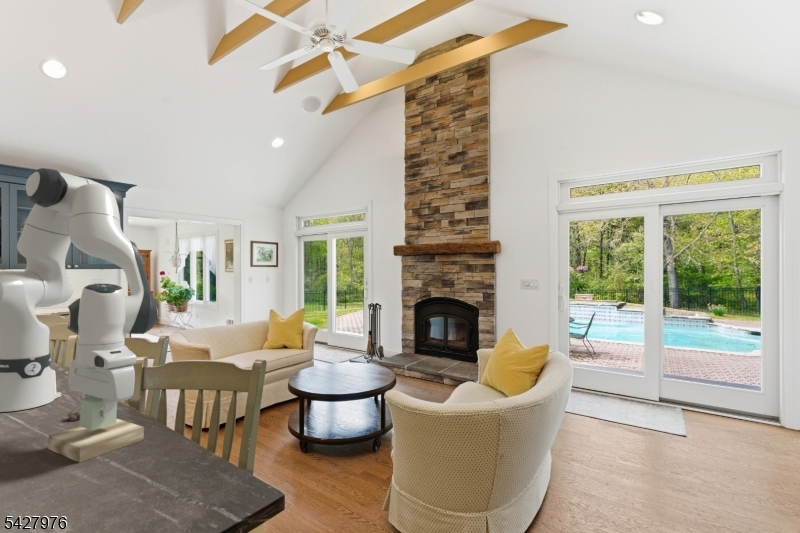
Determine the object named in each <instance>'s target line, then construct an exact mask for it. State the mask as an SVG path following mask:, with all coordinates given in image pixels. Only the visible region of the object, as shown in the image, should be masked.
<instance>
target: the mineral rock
mask: <svg viewBox="0 0 800 533" xmlns="http://www.w3.org/2000/svg"><path fill="white" fill-rule="evenodd" d="M117 408H118V405H117ZM67 416H68V419H67V420H68V421H71V422H80V409H79V410H77V411H74V410H73V411H70V412H69V414H68V415H67Z"/></svg>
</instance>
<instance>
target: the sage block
mask: <svg viewBox="0 0 800 533" xmlns="http://www.w3.org/2000/svg"><path fill="white" fill-rule="evenodd" d="M104 404H105V403H103V399H101V398H98V397H90V398H86V399H83V398H82V399H80V409H79V410H80V421H79V427H80V426H81V427H83V428H86V429H89V430H95V429H98V428H102V427H105V426H108V425H112V424H115V423H116V418H117V413H118V411H117V410H118V407H117V406H118V402H116V404H115V406H114V408H113V415H112V416H111V417H109V418H103V417H101V416H100V415H101V410H102V409H103V407H104Z"/></svg>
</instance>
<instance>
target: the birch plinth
mask: <svg viewBox="0 0 800 533" xmlns="http://www.w3.org/2000/svg"><path fill="white" fill-rule="evenodd" d="M144 440H145V426H142V425H139V424H135V423H133V422H129V421H127V420H124V419H123V420H122V419H119V418H117V417H116V423H115V424H112V425H108V426H105V427H102V428H98V429H95V430H89V429H86V428H83V427H81V426H80V425H79V426H76V427H74V428H70V429H67V430H64V431H59V432H55V433H53V434H48V443H47V444H48V445H47V447H48V448H47V449H48V450H49V451H52V452H54V453H57V454H59V455H62V456H63V457H66V458H68V459H70V460H73V461H75V462H78V463H82V462H85V461H88V460H91V459H93V458H96V457H99V456H102V455H104V454H108V453H110V452H113V451H116V450H119V449H121V448H125V447H128V446H131V445H132V444H133V445H134V444H135V443H138V442H141V441H144Z"/></svg>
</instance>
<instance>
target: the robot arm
mask: <svg viewBox="0 0 800 533" xmlns="http://www.w3.org/2000/svg"><path fill="white" fill-rule="evenodd" d="M25 195H26V198H27V199H28V201H30V203H32V204H34V205H33V206H32V208H31V210H30V211H29V214H28V216H27V218H26V221H25V223H24V226H23V229H22V231H21V234H20V236H19V238H18V240H17V244H16V249H17V251H18V253H19V254H20V255H21V256H23V258H25V260H26V265H25V269H24V270H23V271H20V270H19V271H17V270H15V271H14V270H10V271H9V270H7V271H6V270H5V271H4V270H3V271H0V413H6V412H16V411H23V410H29V409H33V408H38V407H41V406H44V405H47V404H50V403H52V402H53V401H55V399H57V398H60V397H62V392H60V391H57V379H56V376H57V375H56V371H55V370H54V369H52V368H51V367H50V366H51V361H52V355H51V353H50V336H51V335H50V334H51V333H50V332H51V330H50V327H49V326H48V325H47V324H45V323H43V322H41V321H40V320H39V319H38V318H37V315H36V311H35V308H37V309H38V308H47V307H53V306H56V305H60V304H62V303H65V302H67V301H69V299H71V297H72V295H73V293H74V289H75V288H74V287H75V286H74V283H73V281H72V279H71V278H70V277H69V276H68V273H67V272H66V260H67V259H66V258H67V255H68V251H69V248H70V246H71V243H72V244H73V246H74V247H76V248H77V249H78V250H79V251H81V252H83V253H84V254H86V255H88V256H91V257H93V258H96V259H97V258H98V259H100V260H103V261H106V262H108V263H109V262H110V263H111V264H114V265H116V266H117V267H119V268H121V269H122V271H123V272H124V274H125V278H126V281H127V285H128V289H129V292H130V295H125V293H124V289H123V287H122V286H120V285H118V284H114V283H113V284H111V283H93V284H92V283H91V284H88V285H85V286H84V287H83V288H82V292H81V296H80V297H79V298H77V299H75V300H74V301H73V302H71V303H70V304H69V305H68V306H67V308H68V311H69V313H68V314H69V315H68V324H67V330H69V331H71V332H72V333H74V334H75V335H77V336H78V339H77V341H76V354H75V356H74V359H73V360H71V361H72V362H71V363H70V368H69V375H68V383H67V384H68V387H69V390H71V391H73V392H77V393H80V394H81V393H82V395H81V396H82V397H81V398H82V399H86V398H90V397H98V398H101V399H103V403H105V404H104V407H103V409H102V410H101V415H100V416H101V417H103V418H109V417H111V416H112V415H113V408H114V406H115V404H116V402H117V403H120V402H124V401H127V400H130V399H131V398H132V396H133V395H134V391H135V381H136V380H135V378H136V371H135V367H134V365H135V364H136V363H137V355H136V354H135V353H134V352H133V351H132V350H130V348H128V346H127V345H126V344H125V343H126V342H125V340H126V339H125V334H129V335H144V334H146V333H148V332H149V331H150V330H152V329H153V328H154V327H155V326H156V325H157V323H158V320H159V310H158V307H157V303H156V301H155V298H154V296H153V294H152V291H151V288H150V284H149V281H148V280H149V279H148V277H147V274H146V271H145V267H144V263H143V261H142V257H141V255H140V254H141V253H140V252H139V249H138V247H137V245H136V243H135V242H134V241H132V240H131V239H130V240H129V239H128V237H127V236H126V235H125V233H124V232H123V230H122V227H121V216H120V214H121V212H122V210H123V207H124V199H123V195H122V193H121V192H119V191H118V190H117V189H115V188H114V187H112V186H109V185H104V184H102V183H100V182H98V181H94V180H92V179H89V178H87V177H81V176H78V175H76V174H74V175H73V174H72V173H71V174H70V173H66V172H61V171H58V170H57V169H53V168H48V167H47V168H46V167H45V168H44V167H43V168H42V167H41V168H38V169H35V170H34V171H33V172H32V173H31V174H30V175H29V176H28V179H27V180H26V182H25Z"/></svg>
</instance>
